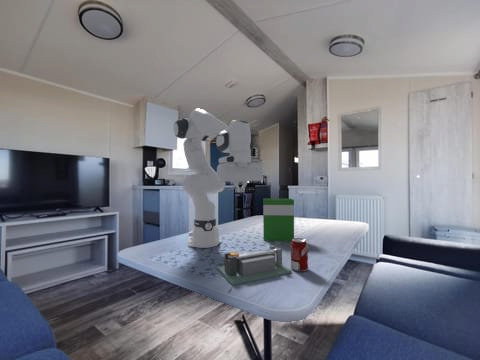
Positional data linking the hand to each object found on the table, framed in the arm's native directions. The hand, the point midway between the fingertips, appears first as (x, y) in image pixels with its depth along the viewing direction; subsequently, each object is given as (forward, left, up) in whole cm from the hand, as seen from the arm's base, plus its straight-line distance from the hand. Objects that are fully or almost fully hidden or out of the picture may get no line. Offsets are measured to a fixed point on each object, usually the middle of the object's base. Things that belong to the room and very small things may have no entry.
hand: (240, 192), depth 100 cm
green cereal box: (-29, +39, -31) cm, 58 cm away
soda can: (+13, +20, -31) cm, 39 cm away
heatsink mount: (+6, +3, -31) cm, 32 cm away
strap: (+6, +3, -25) cm, 26 cm away
